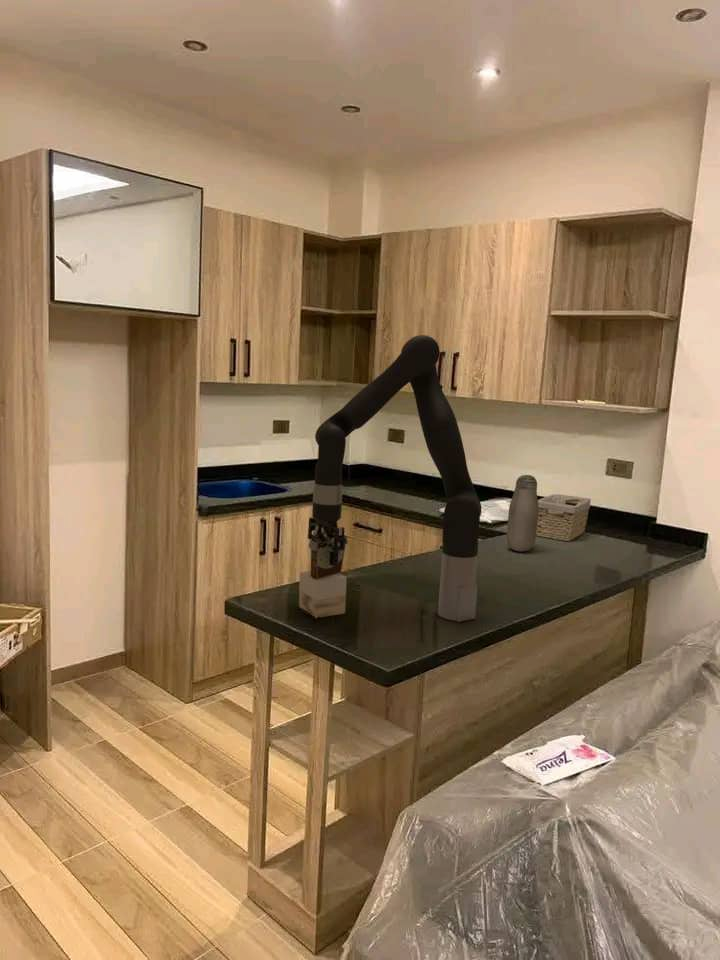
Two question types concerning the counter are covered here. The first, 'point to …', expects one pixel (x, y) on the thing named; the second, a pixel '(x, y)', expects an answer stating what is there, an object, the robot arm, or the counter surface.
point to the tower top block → (322, 586)
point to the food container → (324, 558)
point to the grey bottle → (523, 514)
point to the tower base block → (322, 605)
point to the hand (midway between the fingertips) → (324, 561)
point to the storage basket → (562, 516)
